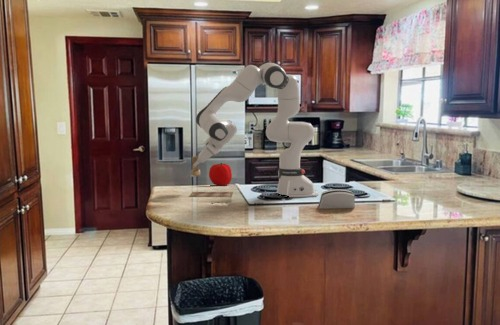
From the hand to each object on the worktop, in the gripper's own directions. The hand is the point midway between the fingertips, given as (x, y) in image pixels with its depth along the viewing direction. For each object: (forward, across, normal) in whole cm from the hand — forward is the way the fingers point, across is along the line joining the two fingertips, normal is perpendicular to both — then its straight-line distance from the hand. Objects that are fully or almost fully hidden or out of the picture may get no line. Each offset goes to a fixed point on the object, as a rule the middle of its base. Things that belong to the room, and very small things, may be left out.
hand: (194, 165), depth 225 cm
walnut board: (+6, +4, +18) cm, 19 cm away
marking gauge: (+4, 0, +4) cm, 6 cm away
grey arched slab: (-36, +33, +60) cm, 77 cm away
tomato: (+2, -29, +22) cm, 36 cm away
